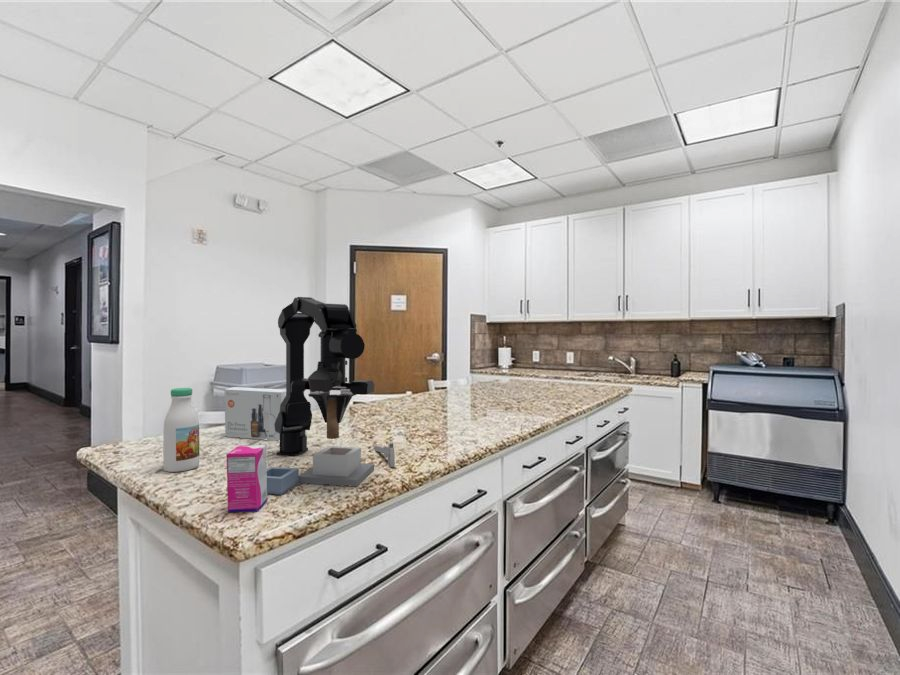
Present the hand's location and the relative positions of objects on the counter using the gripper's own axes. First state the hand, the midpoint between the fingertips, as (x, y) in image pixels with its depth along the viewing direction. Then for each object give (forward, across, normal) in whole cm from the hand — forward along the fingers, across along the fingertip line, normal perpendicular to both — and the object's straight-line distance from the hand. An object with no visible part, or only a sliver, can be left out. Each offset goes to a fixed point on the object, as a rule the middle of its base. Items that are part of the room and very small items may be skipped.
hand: (332, 422), depth 103 cm
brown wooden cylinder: (+4, 0, 0) cm, 4 cm away
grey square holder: (+13, +1, +1) cm, 13 cm away
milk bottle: (+13, -40, 0) cm, 42 cm away
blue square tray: (+13, -9, -9) cm, 18 cm away
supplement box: (+13, -9, -19) cm, 25 cm away
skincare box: (+13, -40, +32) cm, 53 cm away
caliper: (+14, +7, +18) cm, 23 cm away
